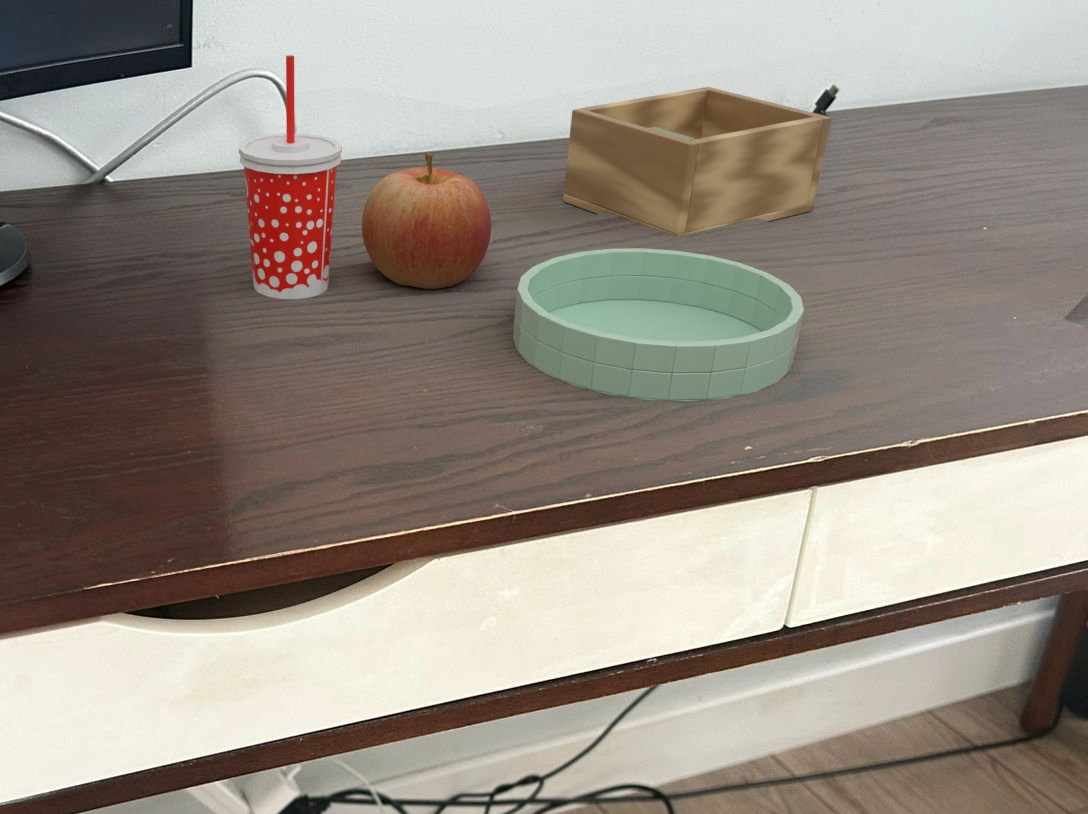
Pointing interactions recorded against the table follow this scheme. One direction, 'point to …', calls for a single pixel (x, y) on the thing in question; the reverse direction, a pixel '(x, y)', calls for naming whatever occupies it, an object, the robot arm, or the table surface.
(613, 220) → the table surface
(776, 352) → the bowl
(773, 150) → the box
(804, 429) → the table surface
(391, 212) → the apple
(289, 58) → the beverage cup
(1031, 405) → the table surface
